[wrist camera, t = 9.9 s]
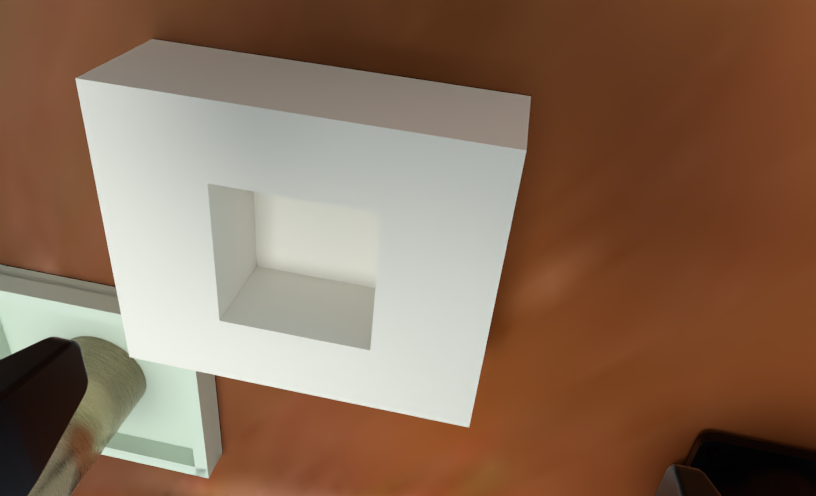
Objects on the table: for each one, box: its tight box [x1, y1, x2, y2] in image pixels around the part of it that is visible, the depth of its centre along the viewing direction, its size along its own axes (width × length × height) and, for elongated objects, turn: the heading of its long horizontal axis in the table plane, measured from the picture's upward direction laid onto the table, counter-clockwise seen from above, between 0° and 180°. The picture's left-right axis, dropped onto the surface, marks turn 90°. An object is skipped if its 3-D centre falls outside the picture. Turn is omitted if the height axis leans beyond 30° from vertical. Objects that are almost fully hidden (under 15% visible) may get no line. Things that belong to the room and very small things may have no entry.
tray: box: [0, 265, 222, 478], centre depth 29 cm, size 10×9×2 cm
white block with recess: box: [75, 39, 531, 427], centre depth 21 cm, size 12×10×4 cm
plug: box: [28, 336, 146, 496], centre depth 25 cm, size 4×4×8 cm
